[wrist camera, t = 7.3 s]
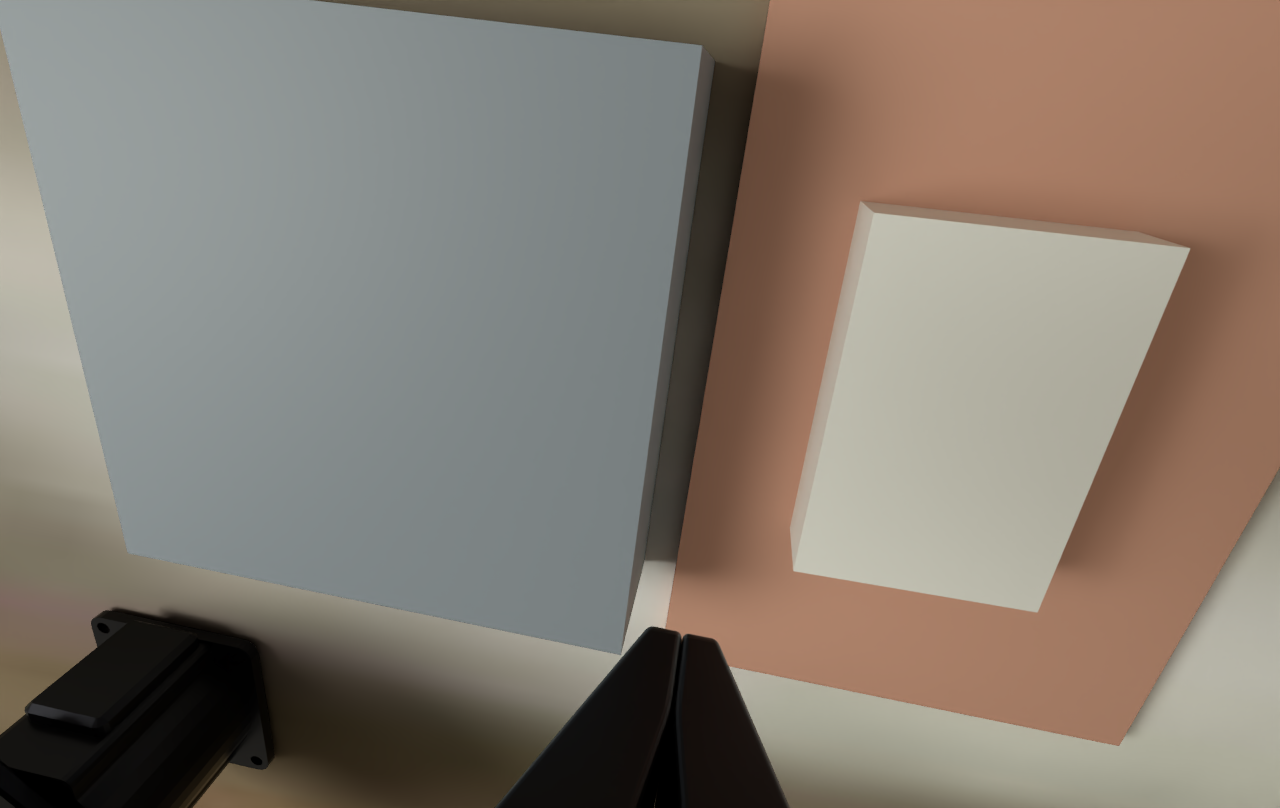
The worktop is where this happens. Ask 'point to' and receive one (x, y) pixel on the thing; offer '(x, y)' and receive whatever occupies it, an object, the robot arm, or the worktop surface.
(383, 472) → the light blue flat slab
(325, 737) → the worktop surface
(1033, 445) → the white rectangular block
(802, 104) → the mat
